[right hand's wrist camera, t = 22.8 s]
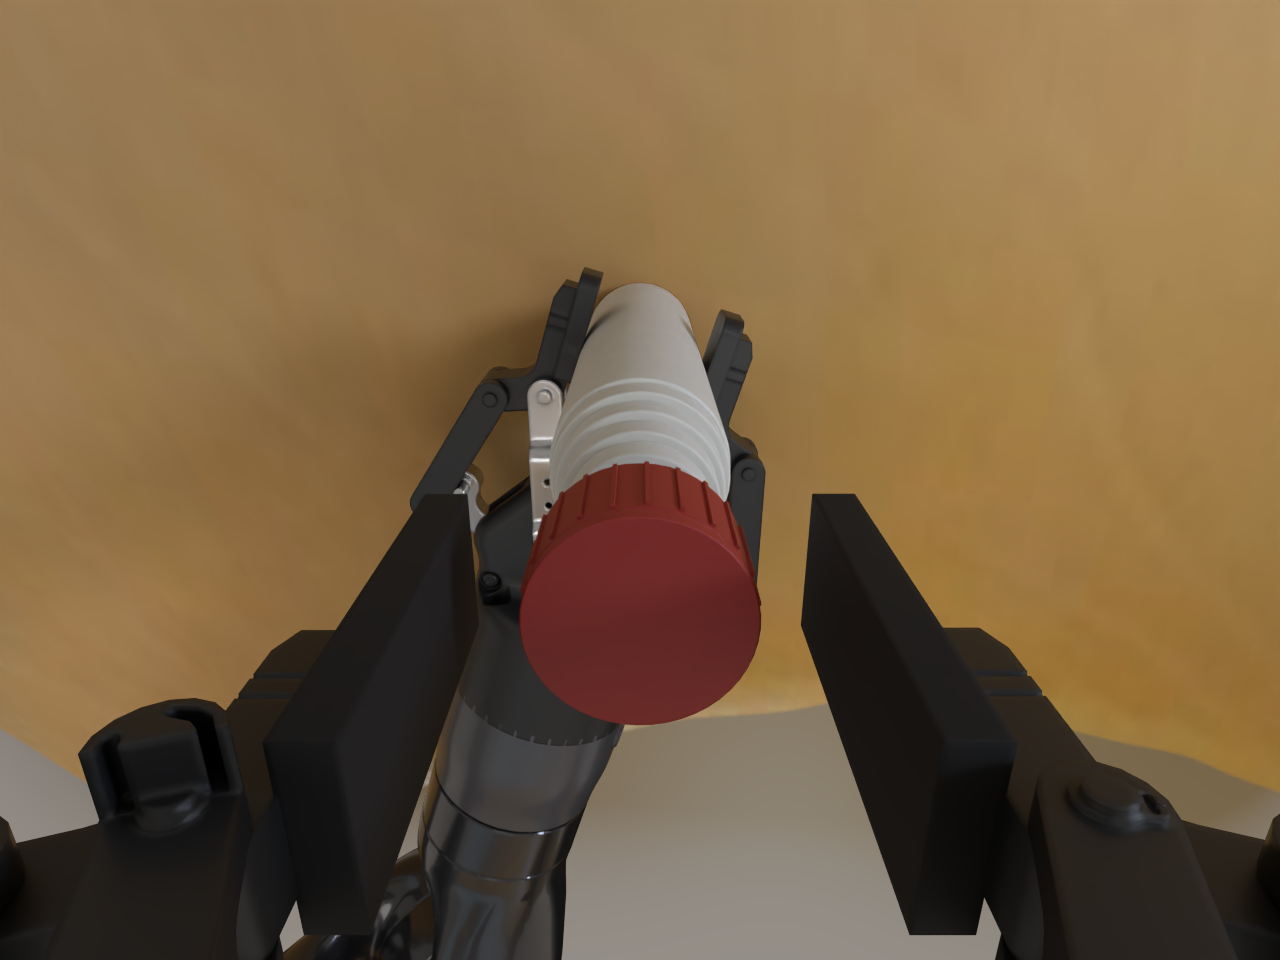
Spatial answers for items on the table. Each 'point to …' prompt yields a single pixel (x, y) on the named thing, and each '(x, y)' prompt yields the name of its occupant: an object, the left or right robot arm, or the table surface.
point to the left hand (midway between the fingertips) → (663, 296)
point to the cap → (639, 596)
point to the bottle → (639, 395)
